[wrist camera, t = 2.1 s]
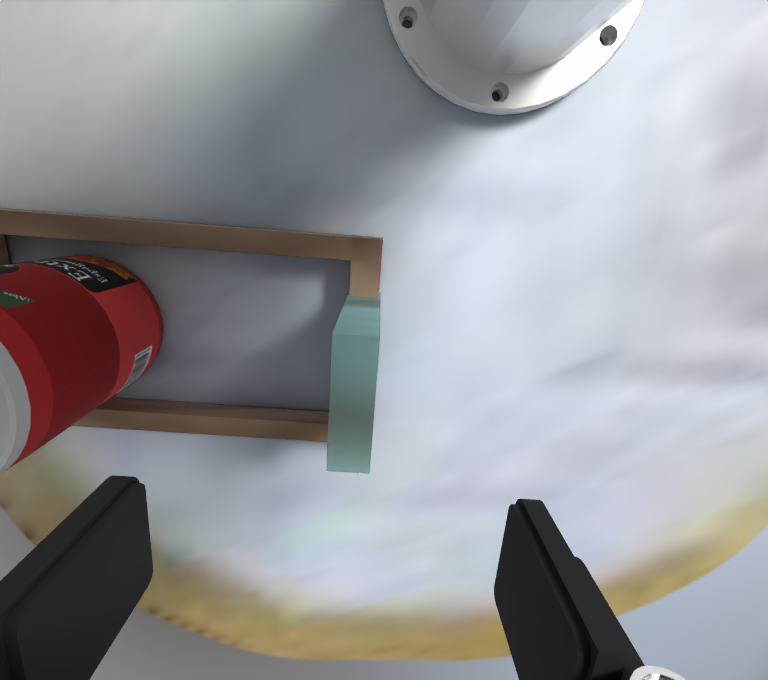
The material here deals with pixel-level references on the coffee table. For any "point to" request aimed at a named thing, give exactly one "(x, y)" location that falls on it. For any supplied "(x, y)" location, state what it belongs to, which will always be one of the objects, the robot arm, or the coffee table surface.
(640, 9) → the robot arm
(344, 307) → the wooden rectangular frame
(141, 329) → the canned food
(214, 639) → the coffee table surface
